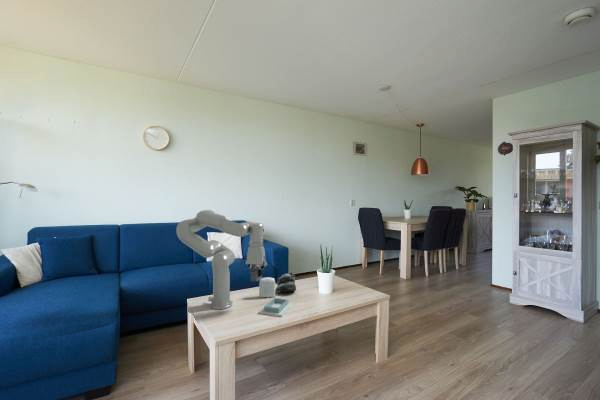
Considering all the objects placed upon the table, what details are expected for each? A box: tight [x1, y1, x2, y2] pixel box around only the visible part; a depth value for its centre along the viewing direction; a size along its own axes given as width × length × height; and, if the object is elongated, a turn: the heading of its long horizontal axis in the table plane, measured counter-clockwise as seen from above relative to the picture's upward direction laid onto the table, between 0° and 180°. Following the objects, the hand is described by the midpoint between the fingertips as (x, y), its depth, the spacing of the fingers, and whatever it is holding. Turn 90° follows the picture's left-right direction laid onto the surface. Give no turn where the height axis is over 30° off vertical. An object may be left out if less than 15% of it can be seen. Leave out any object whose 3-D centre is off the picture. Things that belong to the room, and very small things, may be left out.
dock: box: [258, 297, 294, 318], centre depth 166 cm, size 14×18×4 cm
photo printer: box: [258, 276, 276, 298], centre depth 186 cm, size 10×4×12 cm, turn 98°
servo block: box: [248, 265, 264, 282], centre depth 168 cm, size 4×10×8 cm, turn 161°
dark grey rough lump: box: [275, 272, 297, 294], centre depth 197 cm, size 15×12×14 cm
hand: (256, 275), depth 168 cm, fingers closed on servo block, 4 cm apart
